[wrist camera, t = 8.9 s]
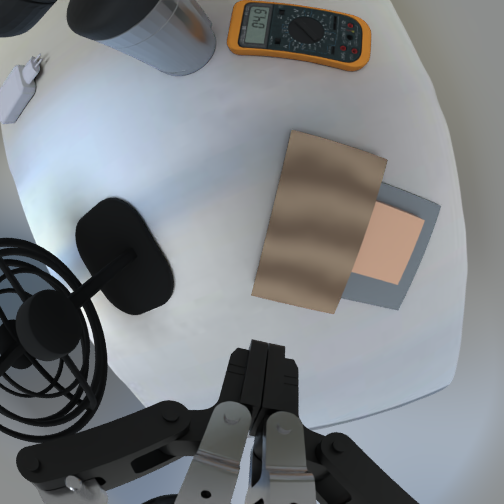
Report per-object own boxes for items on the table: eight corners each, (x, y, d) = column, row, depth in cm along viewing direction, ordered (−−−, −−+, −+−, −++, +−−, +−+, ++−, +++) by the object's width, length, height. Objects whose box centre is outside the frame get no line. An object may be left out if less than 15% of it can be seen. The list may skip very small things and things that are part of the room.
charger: (54, 71, 31) (16, 122, 35) (45, 45, 28) (9, 95, 32) (37, 69, 26) (0, 124, 31) (30, 42, 24) (-6, 95, 28)
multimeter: (362, 77, 28) (370, 71, 25) (229, 56, 29) (224, 48, 26) (366, 28, 25) (372, 19, 22) (238, 8, 26) (234, -2, 23)
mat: (371, 178, 33) (373, 179, 33) (439, 205, 33) (441, 206, 32) (332, 294, 40) (333, 296, 39) (397, 308, 40) (398, 310, 39)
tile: (370, 197, 34) (376, 201, 31) (417, 215, 33) (424, 220, 31) (346, 263, 37) (349, 271, 35) (392, 277, 37) (397, 284, 35)
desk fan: (57, 216, 41) (-90, 303, 9) (114, 163, 36) (-105, 241, 4) (130, 333, 49) (37, 472, 16) (199, 307, 44) (102, 509, 12)
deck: (290, 131, 32) (291, 129, 29) (377, 158, 32) (387, 159, 28) (254, 281, 41) (251, 295, 37) (330, 299, 40) (333, 314, 37)
